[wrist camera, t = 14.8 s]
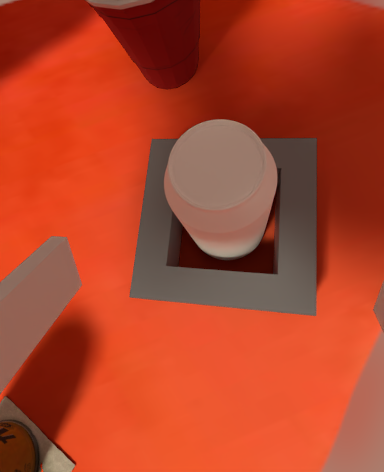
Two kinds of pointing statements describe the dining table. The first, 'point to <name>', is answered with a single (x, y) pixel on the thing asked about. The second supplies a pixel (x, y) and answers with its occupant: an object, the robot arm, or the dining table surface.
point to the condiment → (26, 444)
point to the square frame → (232, 282)
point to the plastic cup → (156, 36)
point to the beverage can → (221, 187)
